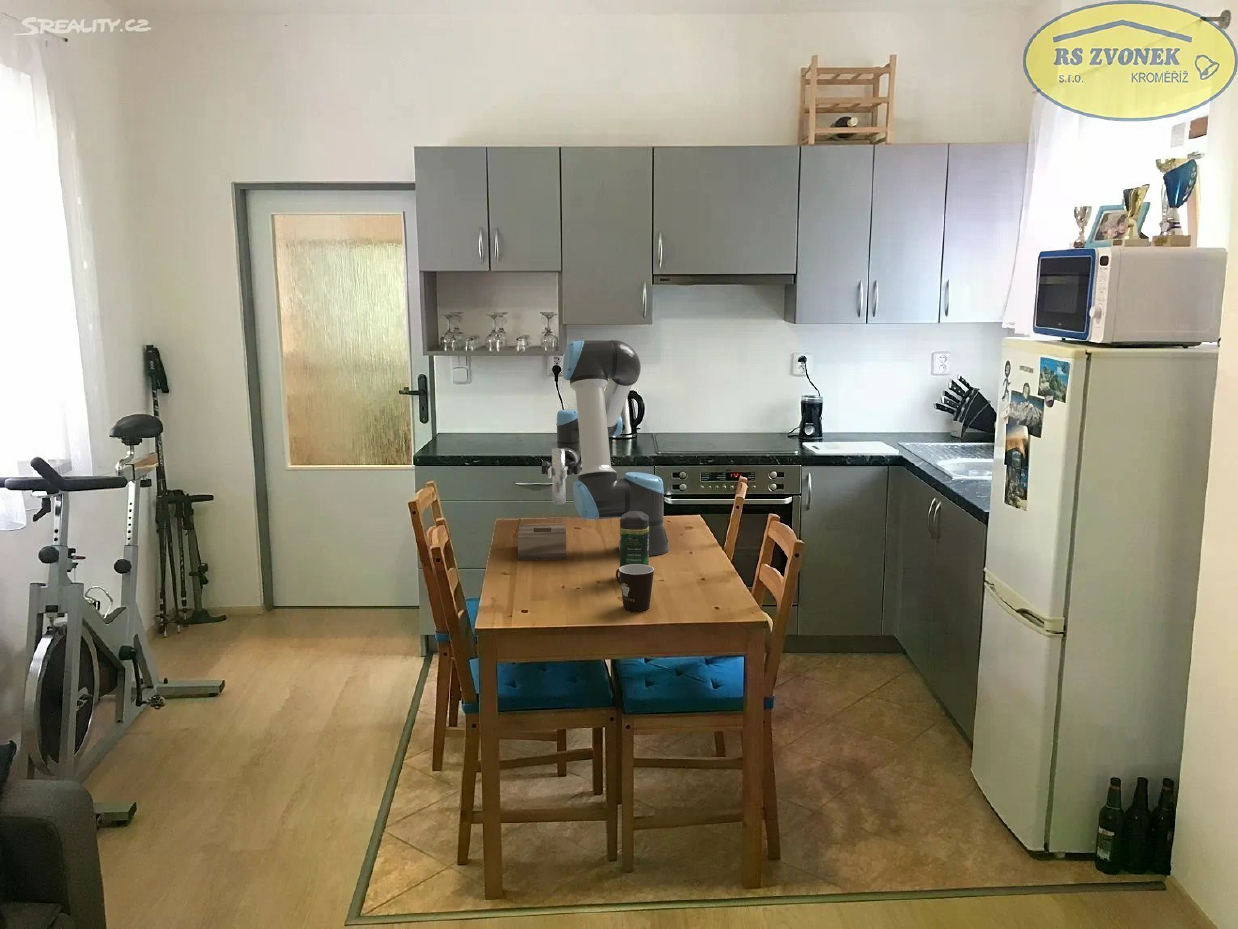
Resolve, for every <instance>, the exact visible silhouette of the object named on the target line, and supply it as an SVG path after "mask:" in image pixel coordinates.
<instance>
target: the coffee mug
mask: <svg viewBox="0 0 1238 929" xmlns="http://www.w3.org/2000/svg"><path fill="white" fill-rule="evenodd" d="M654 574H655V568H654V567H653V566H651V565H649V566H648V565H641V564H631V565H625V566H622V567H620V566H619V568H617V569H616V571H615V578H616V580H617V583H618V584H619V586H620V590H621V599H622V605H623V606H622V607H623V608H622V609H623V610H624V611H626V612H628V611H629V612H630V613H635V612H638V613H644V612H643V611H645V612H647V611H646V610H648V609H649V610H650V607H651V597H652V588H653V582H654ZM649 610H648V611H649ZM629 612H628V613H629Z"/></svg>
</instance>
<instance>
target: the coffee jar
mask: <svg viewBox="0 0 1238 929" xmlns="http://www.w3.org/2000/svg"><path fill="white" fill-rule="evenodd" d="M619 541H620V551H619V568H620V567H622V566H625V565H631V564H641V565H648V566H650V564H649V561H650V556H649V517H648V515H647V514H645V513H644V512H643V511H628V512H627V513H625V514H623V515H622V516H621V518H620V519H619Z"/></svg>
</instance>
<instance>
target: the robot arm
mask: <svg viewBox="0 0 1238 929" xmlns="http://www.w3.org/2000/svg"><path fill="white" fill-rule="evenodd" d="M562 362H563V363H562V376H563V379H564V380H566V381H569V387H570V388H571V389H572V390H573V391H574V392H575V400H576V409H561V410H559V411H558V412H557V414H556V439H557V440H556V448H564V449H565V468H564V469H563V479H565V480H566V479H567V477H568V476H571V475H572V474H574V475H577V480H575V481H573V484H572V496H573V501H574V506H575V508H576V511H577V513H578V514H579V516H580V518H582V519H583V520H595V521H598V520H605V519H606V520H607V519H619V518H620V519H621V516H622V515H623V514H625V513H627V512H628V511H643V512H644V513H645V514H647V515H648V517H649V557H651V556H658V555H663V554H666V553H667V552H669V551H670V542H669V540H668V535H667V533H666V529H665V526H664V495H665V492H664V491H665V490H664V482H663V479H662V477H660V476H658V475H656V474H650V473H646V472H636V471H632V472H631V471H630V472H628V471H627V472H625V473H624V475H623V477H622V478H618V474H617V473H618V472H617V471H616V470H615V469H614V468H612V464H611V454H610V452H611V451H610V441H609V440H610V438H612V437H617V436H621V434H622V432H623V419H622V416H621V414H622V412H623V409H624V406H625V403H626V402H627V398H628V396H629V394H630V392H631V389H632V386H634V385H635V384H636V383H637V381H638V380H639V377H640V373H641V367H642V366H641V360H640V357H639V356H638V354H637V352H636V350H634V348H633V347H632V346H630V345H629V344H628V343H626V342H624V341H622V340H617V339H615V340H614V339H611V340H607V339H605V340H596V339H595V340H592V339H591V340H590V339H589V340H587V339H586V340H585V339H583V340H574V341H570V342H568V344H567V345H566V348H565V350H564V355H563V361H562ZM580 458H581V460H580ZM541 474H542V475H546V477H547V480H551V479H552V460H550V462H549V461H547V460H542V461H541ZM618 550H619V552H620V540H619V542H618Z"/></svg>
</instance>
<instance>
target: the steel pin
mask: <svg viewBox="0 0 1238 929" xmlns="http://www.w3.org/2000/svg"><path fill="white" fill-rule="evenodd" d="M551 461H552V477H551V479H552V504H554V505H564V504H566V496H567V495H566V479H563V469H564V468H565V449H564V448H557V447H554V448H551Z"/></svg>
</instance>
